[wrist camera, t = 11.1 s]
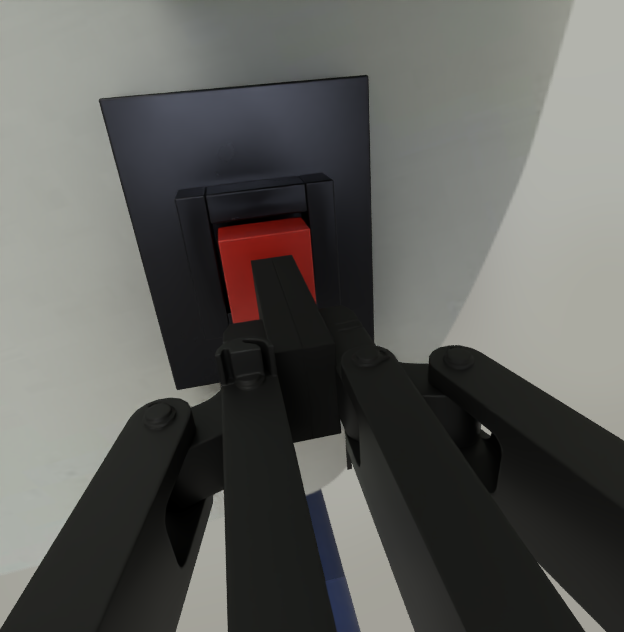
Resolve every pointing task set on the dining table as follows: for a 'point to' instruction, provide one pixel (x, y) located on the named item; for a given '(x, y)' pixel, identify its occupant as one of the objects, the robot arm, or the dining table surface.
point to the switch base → (243, 196)
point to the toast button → (259, 244)
